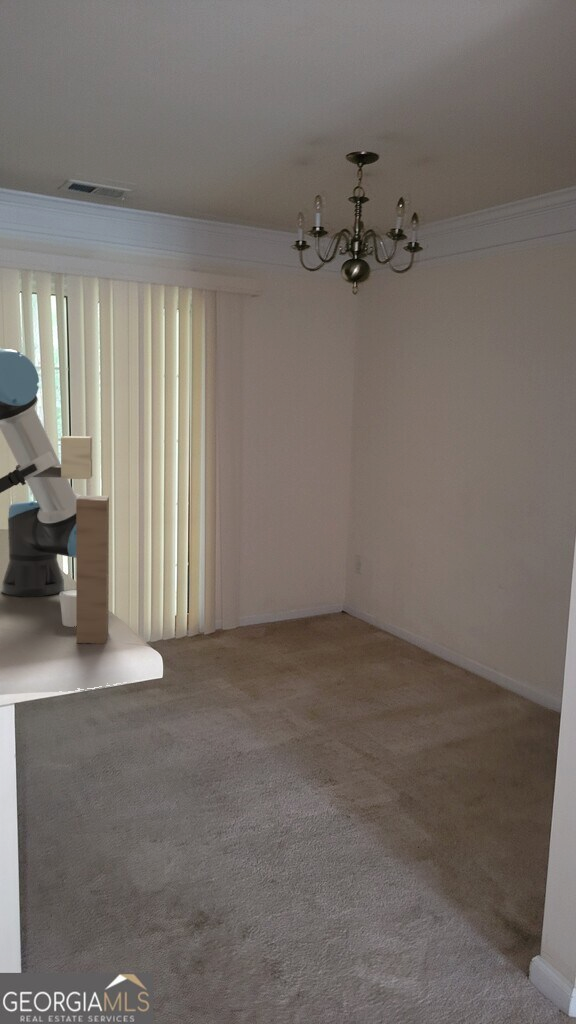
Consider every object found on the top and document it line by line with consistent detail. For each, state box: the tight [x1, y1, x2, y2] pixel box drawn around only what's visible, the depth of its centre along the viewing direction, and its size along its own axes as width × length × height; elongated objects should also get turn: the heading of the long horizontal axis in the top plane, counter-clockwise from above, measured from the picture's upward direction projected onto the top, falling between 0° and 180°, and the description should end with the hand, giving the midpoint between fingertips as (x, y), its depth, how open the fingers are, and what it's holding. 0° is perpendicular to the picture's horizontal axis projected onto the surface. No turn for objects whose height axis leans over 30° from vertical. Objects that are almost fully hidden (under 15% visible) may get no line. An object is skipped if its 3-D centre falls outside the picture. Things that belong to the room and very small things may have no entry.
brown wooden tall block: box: [75, 494, 110, 644], centre depth 156 cm, size 8×6×29 cm
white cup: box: [59, 588, 77, 628], centre depth 168 cm, size 7×7×7 cm
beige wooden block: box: [15, 435, 93, 480], centre depth 152 cm, size 7×14×8 cm, turn 100°
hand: (52, 457), depth 152 cm, fingers closed on beige wooden block, 2 cm apart
